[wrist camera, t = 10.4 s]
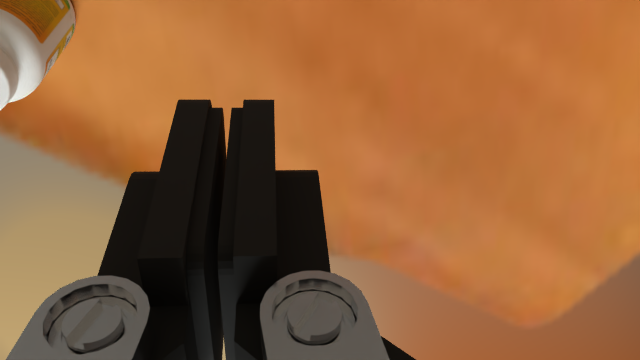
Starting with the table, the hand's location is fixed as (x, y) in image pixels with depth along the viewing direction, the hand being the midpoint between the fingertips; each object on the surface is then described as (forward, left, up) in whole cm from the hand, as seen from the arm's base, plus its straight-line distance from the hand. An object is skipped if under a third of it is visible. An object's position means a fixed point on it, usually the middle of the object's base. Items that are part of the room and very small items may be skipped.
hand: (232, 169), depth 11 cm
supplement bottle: (+14, +7, -27) cm, 31 cm away
